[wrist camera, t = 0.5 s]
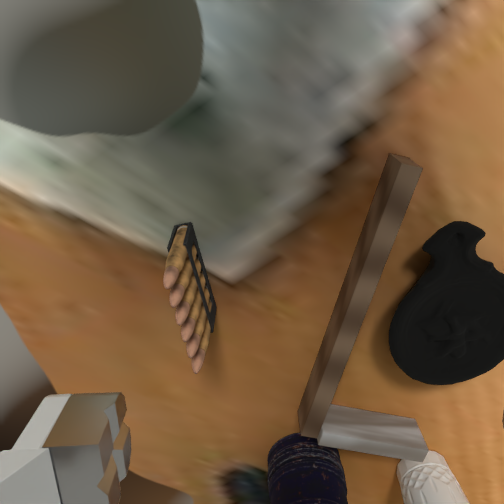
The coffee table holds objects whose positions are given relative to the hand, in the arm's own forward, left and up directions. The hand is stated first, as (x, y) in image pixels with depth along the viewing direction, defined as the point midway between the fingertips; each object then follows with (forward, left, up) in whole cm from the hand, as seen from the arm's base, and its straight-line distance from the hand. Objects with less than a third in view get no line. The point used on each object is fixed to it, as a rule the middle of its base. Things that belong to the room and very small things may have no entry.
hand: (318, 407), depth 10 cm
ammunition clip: (+17, -3, -37) cm, 41 cm away
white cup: (+40, +32, -37) cm, 63 cm away
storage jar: (+42, +16, -37) cm, 58 cm away
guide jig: (+17, +20, -37) cm, 45 cm away
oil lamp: (+13, +24, -37) cm, 46 cm away
